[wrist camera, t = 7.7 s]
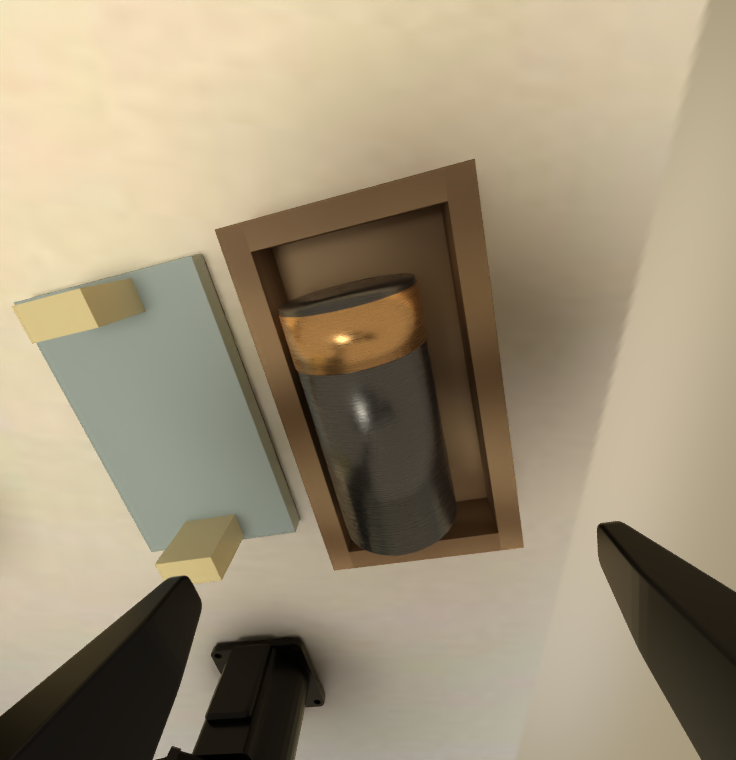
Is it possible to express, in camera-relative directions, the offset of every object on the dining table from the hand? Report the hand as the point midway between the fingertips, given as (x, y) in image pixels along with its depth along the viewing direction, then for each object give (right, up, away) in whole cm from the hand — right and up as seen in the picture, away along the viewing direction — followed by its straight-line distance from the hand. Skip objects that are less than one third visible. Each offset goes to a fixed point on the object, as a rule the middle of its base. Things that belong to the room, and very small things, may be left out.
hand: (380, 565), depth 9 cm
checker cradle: (-10, +2, +12) cm, 16 cm away
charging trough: (+1, +4, +11) cm, 11 cm away
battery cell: (+1, +4, +10) cm, 10 cm away
